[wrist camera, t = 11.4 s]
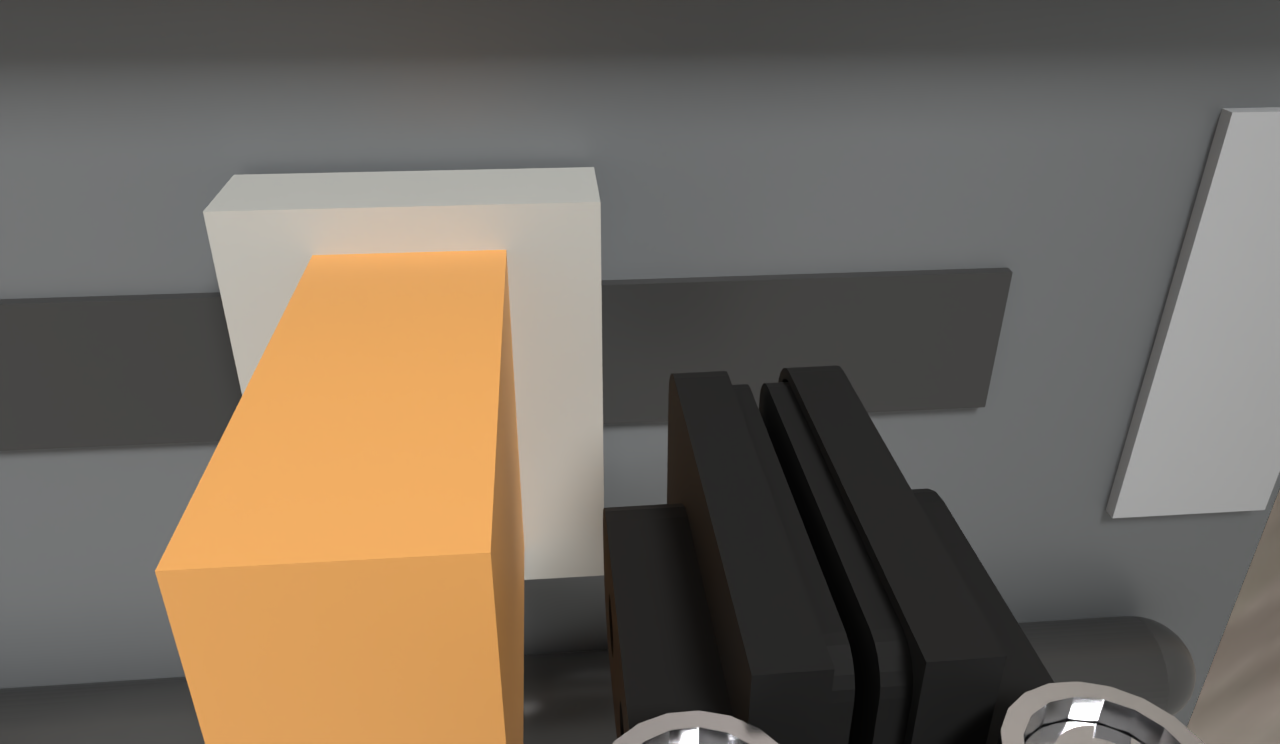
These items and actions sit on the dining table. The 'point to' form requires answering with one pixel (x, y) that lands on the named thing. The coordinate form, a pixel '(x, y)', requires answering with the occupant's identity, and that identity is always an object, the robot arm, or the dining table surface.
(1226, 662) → the dining table surface
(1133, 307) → the switch panel
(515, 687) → the breaker lever
